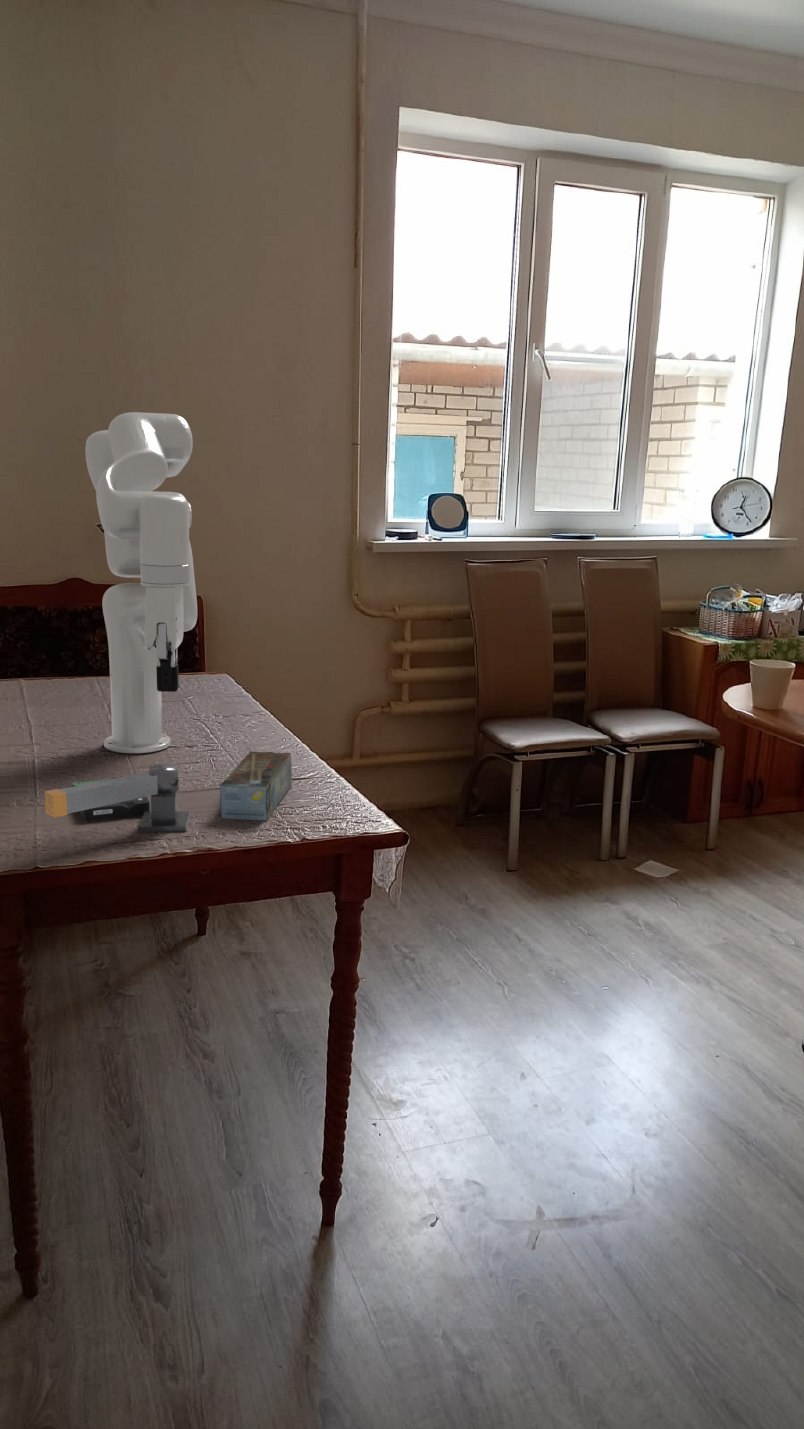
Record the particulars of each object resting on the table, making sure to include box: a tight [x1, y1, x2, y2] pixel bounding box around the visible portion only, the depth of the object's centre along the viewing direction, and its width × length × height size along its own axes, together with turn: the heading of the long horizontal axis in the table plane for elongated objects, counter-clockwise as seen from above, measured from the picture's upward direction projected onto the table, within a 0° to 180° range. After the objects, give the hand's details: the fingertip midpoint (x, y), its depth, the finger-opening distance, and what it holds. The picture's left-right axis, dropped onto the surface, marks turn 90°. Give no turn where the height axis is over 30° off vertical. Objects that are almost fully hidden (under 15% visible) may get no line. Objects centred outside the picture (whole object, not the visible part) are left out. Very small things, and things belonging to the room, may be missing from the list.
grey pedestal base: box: [138, 791, 191, 833], centre depth 162 cm, size 7×7×5 cm
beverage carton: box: [219, 751, 293, 822], centre depth 174 cm, size 8×19×7 cm, turn 173°
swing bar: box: [44, 763, 180, 818], centre depth 155 cm, size 21×4×4 cm, turn 133°
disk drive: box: [71, 777, 151, 822], centre depth 171 cm, size 10×3×15 cm
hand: (167, 690), depth 168 cm, fingers closed
